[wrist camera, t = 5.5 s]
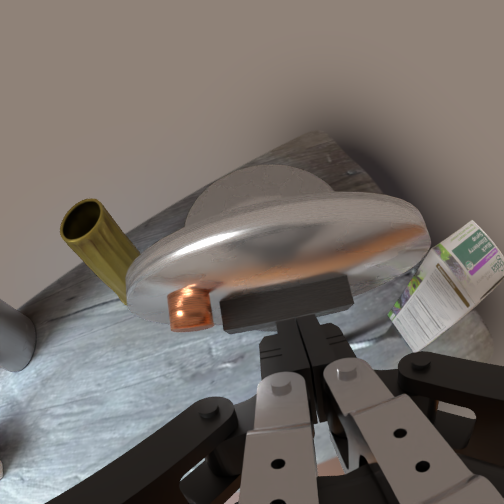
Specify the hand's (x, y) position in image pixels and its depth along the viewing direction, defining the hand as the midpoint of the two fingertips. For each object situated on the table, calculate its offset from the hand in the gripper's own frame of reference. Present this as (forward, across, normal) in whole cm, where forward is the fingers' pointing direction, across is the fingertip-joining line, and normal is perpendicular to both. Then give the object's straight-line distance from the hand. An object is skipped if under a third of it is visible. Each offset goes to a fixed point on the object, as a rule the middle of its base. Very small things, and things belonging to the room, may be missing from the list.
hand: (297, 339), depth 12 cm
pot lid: (+7, 0, -1) cm, 7 cm away
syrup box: (+19, -15, +12) cm, 27 cm away
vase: (+27, +17, +4) cm, 32 cm away
